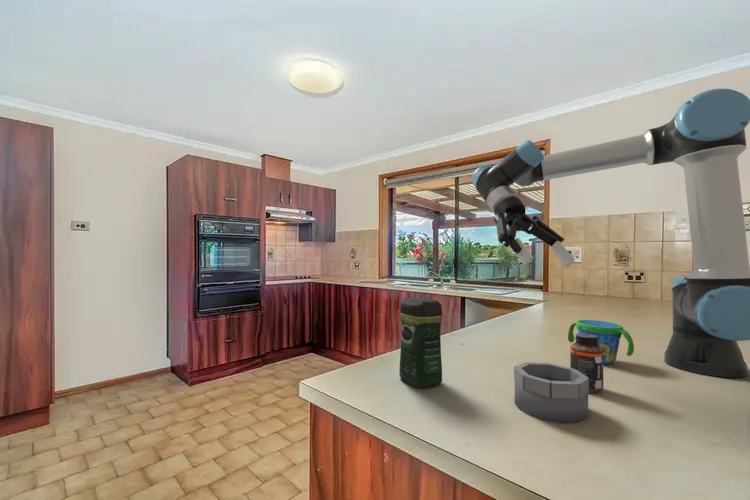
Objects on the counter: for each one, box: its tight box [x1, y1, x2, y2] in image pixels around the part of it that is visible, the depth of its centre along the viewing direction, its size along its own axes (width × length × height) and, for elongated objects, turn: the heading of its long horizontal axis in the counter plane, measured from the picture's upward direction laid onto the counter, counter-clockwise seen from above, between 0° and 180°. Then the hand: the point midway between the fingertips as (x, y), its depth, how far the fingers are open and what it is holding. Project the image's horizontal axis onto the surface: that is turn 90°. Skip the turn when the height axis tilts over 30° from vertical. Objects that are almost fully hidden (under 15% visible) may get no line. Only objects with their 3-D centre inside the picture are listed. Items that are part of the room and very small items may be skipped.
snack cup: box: [567, 319, 635, 366], centre depth 90 cm, size 16×10×10 cm
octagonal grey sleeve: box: [513, 361, 590, 425], centre depth 62 cm, size 12×12×6 cm
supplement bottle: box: [569, 333, 604, 394], centre depth 71 cm, size 6×6×11 cm
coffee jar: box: [398, 296, 444, 389], centre depth 74 cm, size 10×8×19 cm
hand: (550, 262), depth 79 cm, fingers open, 13 cm apart
